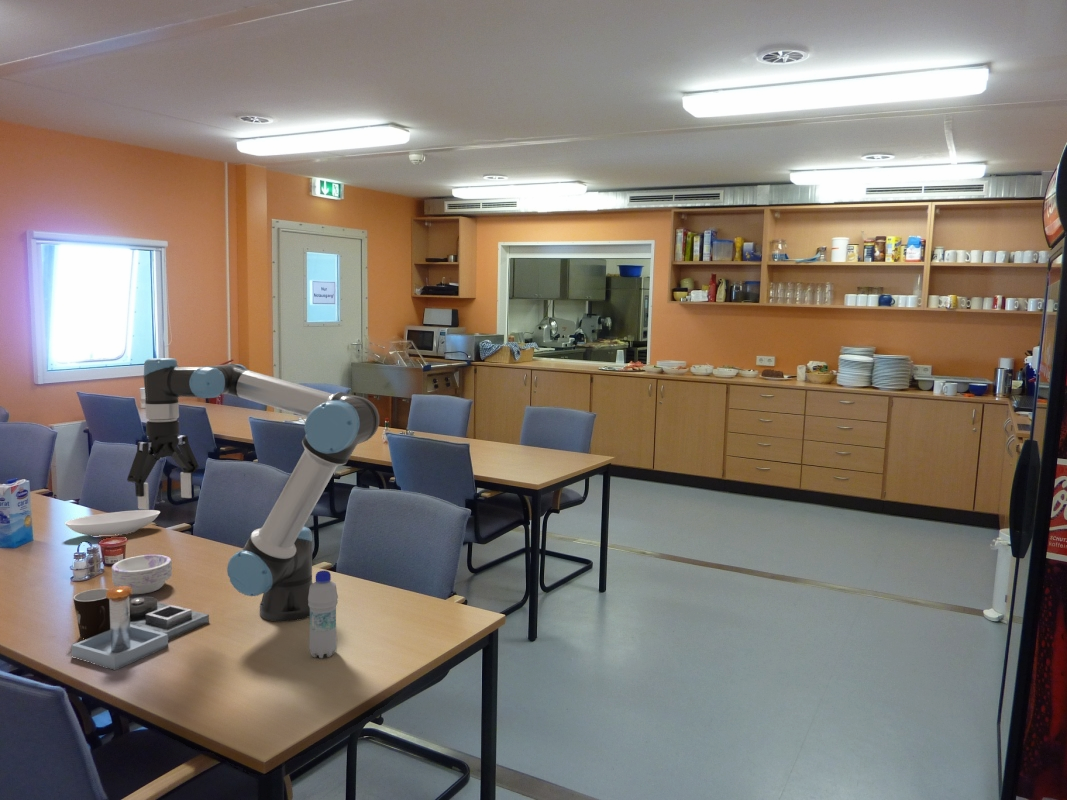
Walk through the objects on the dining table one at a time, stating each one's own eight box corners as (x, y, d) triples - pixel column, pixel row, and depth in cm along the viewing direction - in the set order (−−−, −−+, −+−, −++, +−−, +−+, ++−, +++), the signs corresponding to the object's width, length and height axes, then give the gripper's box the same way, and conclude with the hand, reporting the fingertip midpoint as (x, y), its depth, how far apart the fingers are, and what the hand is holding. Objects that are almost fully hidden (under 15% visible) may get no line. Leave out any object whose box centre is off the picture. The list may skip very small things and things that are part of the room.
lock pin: (138, 647, 178) (137, 588, 176) (118, 655, 173) (116, 595, 171) (123, 642, 180) (121, 584, 178) (102, 651, 175) (100, 591, 173)
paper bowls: (99, 595, 211) (98, 567, 210) (139, 577, 226) (139, 551, 225) (146, 601, 208) (145, 573, 207) (184, 583, 222) (183, 556, 222)
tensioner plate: (209, 622, 195) (208, 602, 194) (162, 642, 182) (162, 621, 181) (147, 607, 203) (147, 588, 203) (99, 625, 191) (99, 605, 190)
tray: (168, 646, 180) (167, 634, 179) (114, 670, 167) (114, 657, 167) (126, 635, 185) (126, 623, 185) (71, 657, 173) (71, 644, 172)
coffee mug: (78, 629, 188) (77, 590, 187) (118, 625, 191) (116, 587, 190) (68, 649, 177) (67, 607, 176) (110, 644, 180) (109, 603, 179)
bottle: (326, 645, 182) (326, 564, 180) (343, 653, 178) (343, 571, 176) (302, 654, 177) (301, 571, 175) (319, 663, 173) (319, 578, 171)
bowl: (155, 523, 285) (154, 507, 285) (165, 532, 274) (165, 515, 273) (62, 535, 266) (61, 518, 266) (69, 546, 255) (68, 528, 254)
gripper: (189, 413, 203) (191, 491, 205) (108, 424, 180) (112, 512, 182) (211, 415, 201) (213, 494, 203) (132, 426, 177) (135, 515, 179)
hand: (165, 503), depth 192 cm, fingers open, 13 cm apart
